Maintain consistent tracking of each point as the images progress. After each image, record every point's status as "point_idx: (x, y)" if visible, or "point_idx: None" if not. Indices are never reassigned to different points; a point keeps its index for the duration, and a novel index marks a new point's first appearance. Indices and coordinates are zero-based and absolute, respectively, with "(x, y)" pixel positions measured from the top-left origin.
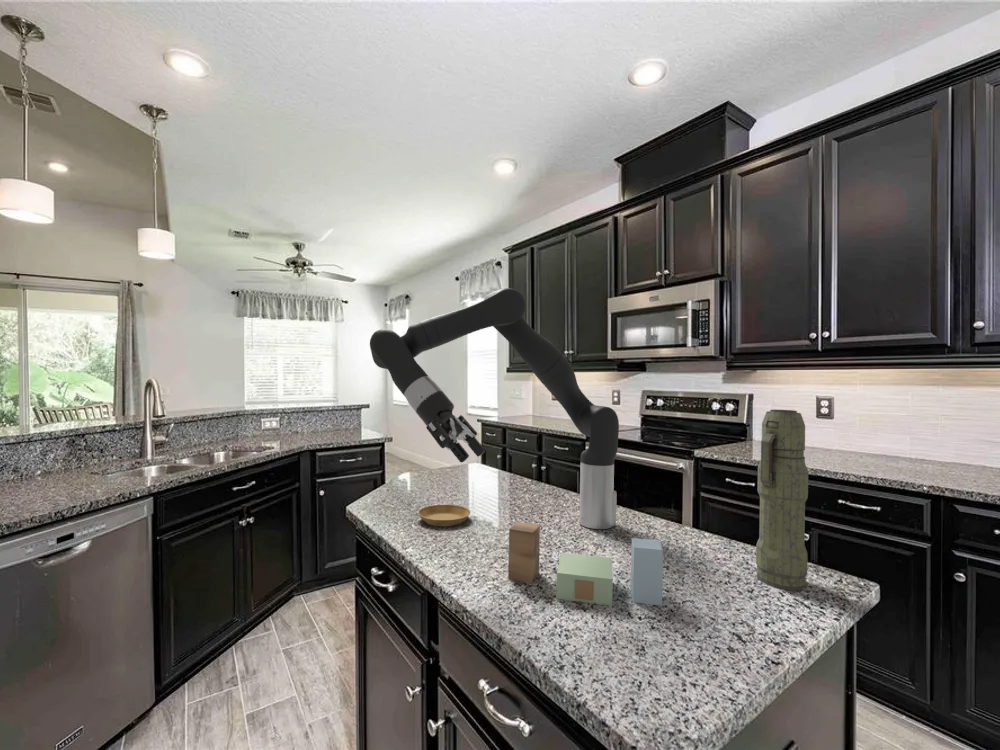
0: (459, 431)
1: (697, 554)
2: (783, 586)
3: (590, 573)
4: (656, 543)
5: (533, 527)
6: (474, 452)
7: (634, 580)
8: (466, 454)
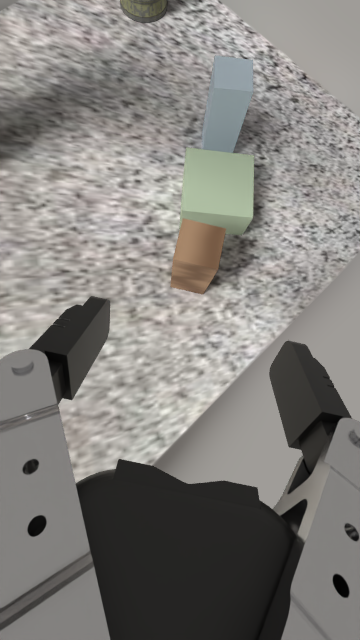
0: (179, 480)
1: (75, 56)
2: (165, 7)
3: (244, 178)
4: (229, 61)
5: (199, 228)
6: (97, 353)
7: (238, 135)
8: (308, 349)
